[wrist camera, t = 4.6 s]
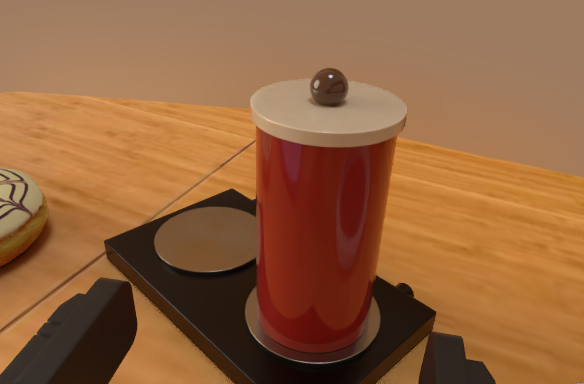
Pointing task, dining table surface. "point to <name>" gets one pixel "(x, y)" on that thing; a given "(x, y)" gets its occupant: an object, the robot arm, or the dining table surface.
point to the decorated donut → (19, 213)
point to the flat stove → (251, 298)
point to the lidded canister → (320, 205)
